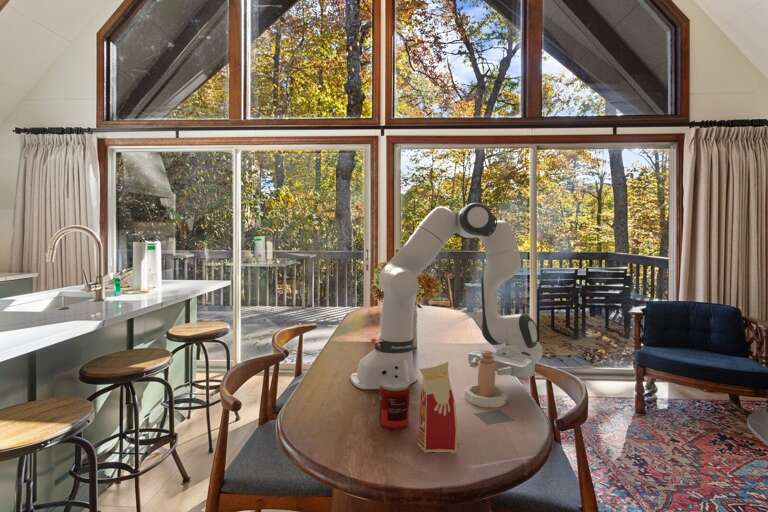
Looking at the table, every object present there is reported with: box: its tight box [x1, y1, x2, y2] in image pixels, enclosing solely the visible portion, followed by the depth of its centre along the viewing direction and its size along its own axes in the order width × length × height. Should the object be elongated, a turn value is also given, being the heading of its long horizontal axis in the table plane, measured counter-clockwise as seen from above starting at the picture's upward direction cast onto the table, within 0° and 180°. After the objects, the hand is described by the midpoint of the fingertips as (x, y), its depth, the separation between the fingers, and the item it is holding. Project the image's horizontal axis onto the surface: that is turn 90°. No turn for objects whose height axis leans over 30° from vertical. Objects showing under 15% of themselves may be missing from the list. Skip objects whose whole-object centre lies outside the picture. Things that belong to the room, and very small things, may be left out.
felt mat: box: [473, 409, 516, 425], centre depth 118 cm, size 8×7×1 cm
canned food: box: [378, 378, 410, 431], centre depth 113 cm, size 8×8×11 cm
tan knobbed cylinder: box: [477, 350, 496, 398], centre depth 130 cm, size 5×5×14 cm
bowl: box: [464, 383, 508, 408], centre depth 130 cm, size 12×12×3 cm
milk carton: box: [417, 361, 458, 454], centre depth 102 cm, size 9×9×20 cm
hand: (485, 368), depth 129 cm, fingers open, 8 cm apart
